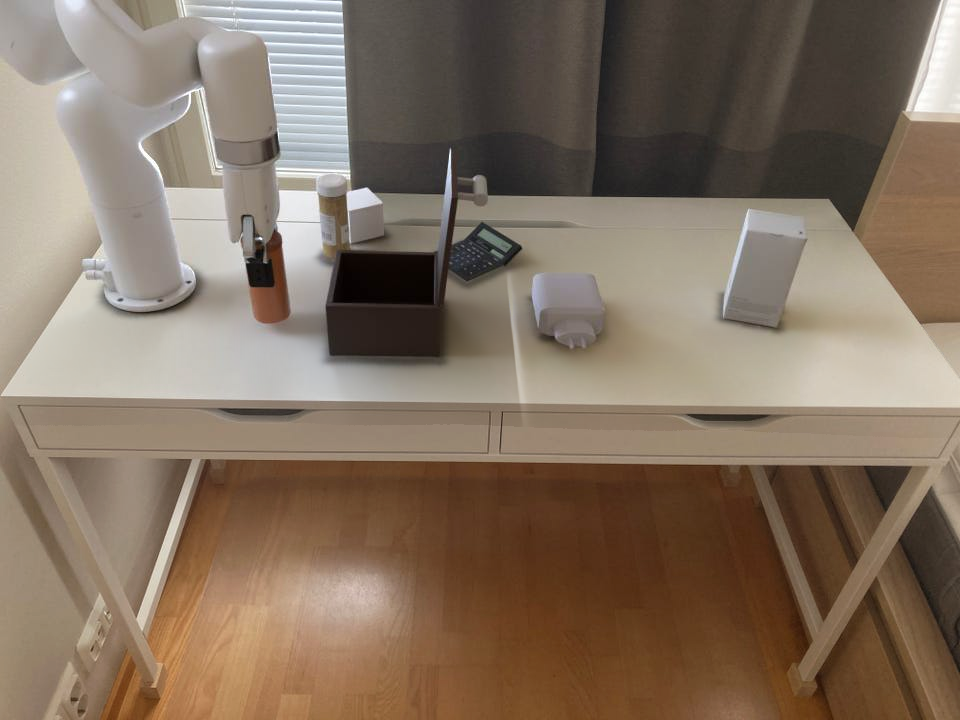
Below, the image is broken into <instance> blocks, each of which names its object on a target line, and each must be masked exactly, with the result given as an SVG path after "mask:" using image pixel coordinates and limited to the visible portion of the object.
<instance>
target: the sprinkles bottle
mask: <svg viewBox="0 0 960 720" xmlns="http://www.w3.org/2000/svg"><path fill="white" fill-rule="evenodd" d="M315 188H316V189H315V190H316V193H317V196H318V213H319V225H320V236H321V237H320V238H321V241H322V254H323V256H324V257H325V258H326V259H329V260H334V259H335V254H336V250H351V243H350V240H349V238H350V234H349V221H348V210H347V196H346V194H347V192H348V180H347V178H346V176H345V175H343V174H341V173H336V172H329V173H328V172H327V173H323V174H321V175H319V176H318V177H317V178H316V180H315Z"/></svg>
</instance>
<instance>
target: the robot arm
mask: <svg viewBox="0 0 960 720" xmlns="http://www.w3.org/2000/svg"><path fill="white" fill-rule="evenodd" d="M0 58H1V59H2V60H3V61H4V62H5V63H6V64H7V65H9V66H10V67H11V68H12V69H13V70H14V71H15V72H17V73H18V74H19V75H20V76H21V77H22V78H24V79H25V80H27V81H28V82H29V83H32V84H34V85H36V86H43V87H44V86H52V85H53V86H54V85H56V84H60V83H62V82H65V81H68V80H69V81H68V82H67V83H66V84H65V85H64V86H62V88H61V89H60V90H59V92H58V94H57V96H56V98H55V103H54V112H55V118H56V120H57V122H58V126H59V127H60V129H61V131H62V133H63V135H64V137H65V139H66V140H67V142H68V145H69V146H70V148H71V151H72V152H73V154H74V157H75V160H76V162H77V164H78V167H79V170H80V173H81V175H82V176H81V177H82V179H83V182H84V185H85V187H86V188H85V189H86V192H87V195H88V198H89V201H90V202H89V203H90V205H91V208H92V212H93V215H94V219H95V222H96V226H97V229H98V233H99V237H100V239H101V243H102V246H103V250H104V253H105V259H98V258H83V259H82V262H81V268H82V271H83V272H84V274H85V279H86V280H87V281H98V280H99V281H103V283H104V284H103V293H104V296H105V299H106V301H108V303H109V304H111V305H112V306H113V307H115V308H117V309H120V310H123V311H126V312H133V313H146V312H156V311H161V310H164V309H167V308H170V307H173V306H175V305H177V304H179V303H181V302H183V301H185V299H187V298H188V297H189V296H191V294H192V293H193V292H194V290H195V288H196V286H197V280H196V274H195V272H194V270H193V269H192V268H191V267H190V266H189V265H188V264H186V263H185V262H182V261H181V257H180V253H179V248H178V247H179V246H178V243H177V239H176V235H175V229H174V225H173V221H172V216H171V211H170V206H169V203H168V197H167V192H166V188H165V184H164V179H163V175H162V172H161V171H160V168H159V166H158V164H157V163H156V162H155V161H154V160H153V159H152V158H151V157H150V156H149V155H148V154H147V152H146V151H144V149H143V147H142V141H143V140H145V139H147V138H148V137H150V136H151V135H153V134H155V133H156V132H159V131H160V130H162V129H164V128H167V127H169V126H170V125H171V124H173V123H175V122H177V121H179V120H180V119H181V118H182V117H184V115H186V113H187V111H188V110H189V108H190V105H191V97H192V95H191V93H193V92H195V91H199V90H202V89H203V94H204V99H205V105H206V111H207V117H208V122H209V128H210V133H211V139H212V144H213V149H214V156H215V160H216V162H217V163H218V164H219V165H221V166H222V189H223V190H222V191H223V201H224V209H225V217H226V224H227V225H226V226H227V233H228V239H229V242H231V243H232V244H236V243H239V242H240V239H241V237H242V236H243V249H242V257H243V259H244V258H245V261H244V264H245V263H246V267H245V270H246V269H247V273H246V276H247V275H248V279H247V282H248V281H249V285H250V286H251V287H274V285H275V280H274V273H273V266H272V259H269V255H268V241H269V240H270V239H271V236H272V233H273V230H275V231H277V232H279V228H278V223H277V221H278V218H279V214H280V208H281V199H280V189H279V181H278V174H277V168H276V162H277V161H278V160H279V159H280V158H281V155H282V154H281V146H280V137H279V127H278V121H277V113H276V104H275V96H274V88H273V79H272V72H271V63H270V55H269V51H268V47H267V44H266V42H265V41H264V40H263V39H262V37H260V36H259V35H257V34H256V33H253V32H249V31H245V30H229V29H227V28H225V27H222V26H220V25H218V24H216V23H214V22H212V21H209V20H208V19H205V18H202V17H198V16H192V15H190V16H183V17H179V18H176V19H173V20H171V21H168V22H166V23H163V24H162V23H161V24H158V25H155V26H154V27H151V28H148V29H146V30H143V29H142V28H141V27H140V26H139V25H138V24H137V23H136V22H135V21H134V20H133V18H131V17H130V16H129V15H128V14H127V13H126V12H125V11H124V10H123V9H122V8H121V7H120V6H119V5H118V4H117V3H115V2H114V1H113V0H0ZM71 79H72V80H71ZM255 234H259V236H262V237H255ZM255 244H262V252H261V251H260V250H257V249H256V248H255ZM249 285H248V286H249Z"/></svg>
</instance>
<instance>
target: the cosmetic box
mask: <svg viewBox="0 0 960 720" xmlns="http://www.w3.org/2000/svg"><path fill="white" fill-rule="evenodd" d="M808 239H809V237H808V230H807V224H806V217H805V216H799V215H793V214H792V215H791V214H787V213H779V212H772V211H766V210H760V209H759V210H758V209H754V208H748V209H747V212H746V215H745V219H744V223H743V226H742V230H741V234H740V237H739V241H738V244H737V248H736V251H735V255H734V259H733V263H732V266H731V270H730V273H729V277H728V281H727V285H726V287H725V291H724V295H723V305H722V306H723V307H722V308H723V309H722V318H723V319H725V320H732V321H736V322H743V323H748V324H755V325H759V326H765V327H770V328H775V329H777V328H778V326H779V323H780V321H781V318H782V314H783V310H784V309H785V306H786V302H787V300H788V296H789V293H790V290H791V288H792V284H793V281H794V280H795V279H794V278H795V276H796V272H797V269H798V266H799V263H800V261H801V257H802V254H803V252H804V248H805V246H806V243H807V241H808Z"/></svg>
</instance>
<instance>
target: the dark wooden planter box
mask: <svg viewBox="0 0 960 720" xmlns="http://www.w3.org/2000/svg"><path fill="white" fill-rule="evenodd" d="M437 287H438V252H435V251H401V250H400V251H399V250H398V251H397V250H396V251H393V250H360V249H359V250H358V249H350V250H336V254H335V259H334V261H333V265H332V271H331V275H330V281H329V285H328V291H327V296H326V300H325V318H326V329H327V338H328V339H327V341H328V352H329V356H351V357H352V356H354V357H355V356H356V357H407V358H410V357H411V358H413V357H414V358H440V336H441V335H440V334H441V305H437Z"/></svg>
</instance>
